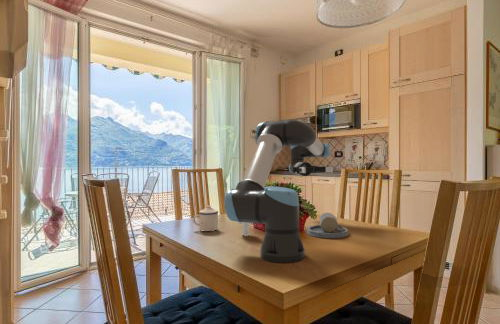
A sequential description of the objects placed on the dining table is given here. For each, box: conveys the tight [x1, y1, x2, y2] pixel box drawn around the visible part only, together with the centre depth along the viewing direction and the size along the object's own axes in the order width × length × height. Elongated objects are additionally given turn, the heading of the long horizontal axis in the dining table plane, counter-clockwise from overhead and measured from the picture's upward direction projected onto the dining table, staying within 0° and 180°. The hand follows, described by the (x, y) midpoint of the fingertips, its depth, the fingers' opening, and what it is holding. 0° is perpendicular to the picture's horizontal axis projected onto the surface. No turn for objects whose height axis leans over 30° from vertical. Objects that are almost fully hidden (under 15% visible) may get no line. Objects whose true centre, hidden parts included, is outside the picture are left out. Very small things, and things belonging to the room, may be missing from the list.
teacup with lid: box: [192, 205, 219, 231], centre depth 142 cm, size 12×9×12 cm
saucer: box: [306, 224, 350, 240], centre depth 133 cm, size 18×18×2 cm
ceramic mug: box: [318, 212, 346, 233], centre depth 131 cm, size 11×8×8 cm
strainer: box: [237, 222, 253, 237], centre depth 131 cm, size 7×7×15 cm
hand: (318, 169), depth 141 cm, fingers open, 13 cm apart
